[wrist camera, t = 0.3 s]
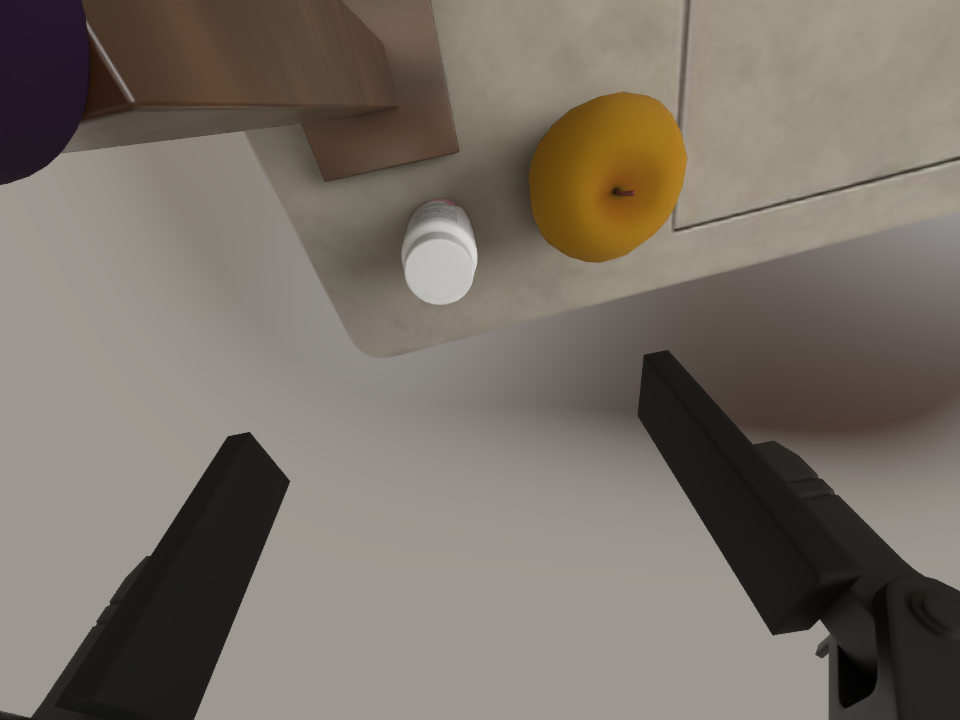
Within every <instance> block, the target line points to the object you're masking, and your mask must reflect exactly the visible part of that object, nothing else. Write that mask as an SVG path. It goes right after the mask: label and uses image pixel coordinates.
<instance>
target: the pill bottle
mask: <svg viewBox="0 0 960 720" xmlns="http://www.w3.org/2000/svg"><path fill="white" fill-rule="evenodd" d="M402 264H403V268H404V274H405V279H406V282H407V285H408V287H409V288H410V290H411V291H412V292H413V293H414V294H415V295H416V296H417V297H418V298H420V299H421V300H423V301H425V302H427V303H430V304H435V305H445V304H450V303H453V302H455V301H457V300H459V299H460V298H462V297H463V296H464V295H465V294H466V293H467V292H468V290H469V289H470V287H471V285H472V282H473V278H474V272H475V270H476V266H477V248H476V243H475V238H474V234H473V229H472V225H471V222H470V219H469V217H468V216H467V214H466V213H465V211H464V210H463V209H462V208H461V207H460V206H459V205H457V204H456V203H454V202H452V201H449V200H445V199H433V200H430V201H427V202H425V203H423V204H422V205H421V206H419V207H418V208H417V209H416V210H415V212H414V213H413V215H412V217H411V219H410V222H409V225H408V229H407V232H406V236H405V239H404V242H403V246H402Z"/></svg>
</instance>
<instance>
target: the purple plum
mask: <svg viewBox="0 0 960 720" xmlns="http://www.w3.org/2000/svg"><path fill="white" fill-rule="evenodd" d="M89 84H90V48H89V40H88V32H87V24H86V17H85V12H84V8H83V4H82V0H0V185H2V184H8V183H11V182H14V181H17V180H20V179H23V178H26V177H29V176H30V175H32V174H34V173H35V172H37V171H39V170H41V169H42V168H44V167H46V166H47V165H48V164H49V163H50V162H52V161H53V160H54V159H55V158H56V157H57V156H58V155H59V154H60V153H61V152H62V151H63V150H64V149H65V147H66V146H67V144H68V143H69V141H70V140H71V138H72V137H73V135H74V134H75V132H76V131H77V129H78V126H79V123H80V121H81V118H82V116H83V113H84V110H85V107H86V101H87V95H88V90H89Z"/></svg>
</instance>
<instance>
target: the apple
mask: <svg viewBox="0 0 960 720" xmlns="http://www.w3.org/2000/svg"><path fill="white" fill-rule="evenodd" d="M686 163H687V154H686V150H685V146H684V141H683V137H682V134H681V131H680V129H679V127H678V125H677V123H676V121H675V119H674V118H673V116H672V114H671V113H670V112H669V111H668V109H667V108H666V107H665V106H664V105H663V104H662V103H661V102H660V101H658V100H656V99H653V98H651V97H649V96H646V95H639V94H633V93H627V92H620V93H615V94H610V95H605V96H600V97H597V98H595V99H593V100H590V101H588V102H586V103H584V104H582V105H579V106H577V107H575V108H573V109H571V110H569V111H568V112H567V113H566V114H565V115H564V116H563V117H561V118H560V119H559V120H558V121H557V122H556V123H555V124H553V125H552V126H551V128H550V129H549V130H548V132H547V133H546V134H545V136H544V137H543V138H542V140H541V141H540V143H539V144H538V146H537V149H536V151H535V153H534V156H533V158H532V162H531V166H530V171H529V187H530V198H531V205H532V213H533V216H534V218H535V221H536V223H537V225H538V228H539V230H540V232H541V234H542V236H543V237H544V238H545V239H546V241H547V242H548V243H549V244H550V245H552V246H553V247H555V248H556V249H558V250H559V251H560V252H562V253H564V254H565V255H567V256H569V257H572V258H575V259H578V260H582V261H585V262H599V263H601V262H605V261H608V260H612V259H615V258H618V257H621V256H624V255H626V254H628V253H629V252H631V251H632V250H634V249H635V248H636V247H638V246H639V245H641V244H642V243H643V242H645V241H646V240H648V239H649V238H650V237H652V236H653V235H654V234H655V233H656V232H657V231H658V230H659V229H660V227H661V226H662V225H663V224H664V223H665V222H666V221H667V219H668V217H669V216H670V214H671V212H672V211H673V209H674V207H675V205H676V202H677V200H678V197H679V194H680V192H681V189H682V186H683V181H684V175H685V169H686Z"/></svg>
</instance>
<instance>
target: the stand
mask: <svg viewBox="0 0 960 720" xmlns="http://www.w3.org/2000/svg"><path fill="white" fill-rule="evenodd" d="M82 4H83V8H84V12H85V17H86V24H87V32H88V40H89V48H90V84H89V90H88V95H87V101H86V107H85V110H84V113H83V116H82V118H81V121H80V123H79V126H78V129H77V131H76V132H75V134H74V135H73V137H72V138H71V140H70V141H69V143H68V144H67V146H66V147H65V149H64V150H63V151H62V152H61V153H68V152H77V151H85V150H93V149H101V148H109V147H117V146H125V145H133V144H141V143H149V142H157V141H165V140H173V139H181V138H190V137H197V136H206V135H213V134H222V133H230V132H238V131H246V130H254V129H262V128H270V127H278V126H287V125H295V124H302V126H303V129H304V131H305V134H306V136H307V139H308V141H309V144H310V146H311V149H312V151H313V154H314V156H315V159H316V161H317V164H318V166H319V169H320V171H321V174H322V176H323V179H324V181H325V182H327V181H332V180H336V179H341V178H345V177H350V176H354V175H359V174H363V173H368V172H372V171H377V170H381V169H385V168H390V167H394V166H399V165H403V164H408V163H412V162H417V161H421V160H426V159H430V158H435V157H439V156H444V155H448V154H452V153H457V152H459V148H458V143H457V137H456V132H455V127H454V122H453V116H452V111H451V106H450V101H449V96H448V90H447V85H446V80H445V75H444V69H443V64H442V59H441V54H440V49H439V43H438V38H437V33H436V28H435V22H434V17H433V12H432V7H431V2H430V0H82ZM61 153H60V154H61Z"/></svg>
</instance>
